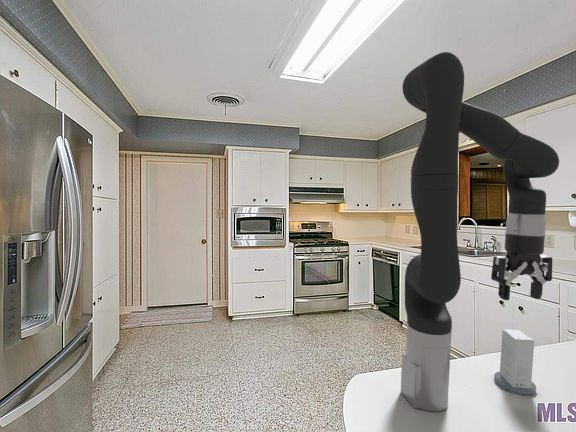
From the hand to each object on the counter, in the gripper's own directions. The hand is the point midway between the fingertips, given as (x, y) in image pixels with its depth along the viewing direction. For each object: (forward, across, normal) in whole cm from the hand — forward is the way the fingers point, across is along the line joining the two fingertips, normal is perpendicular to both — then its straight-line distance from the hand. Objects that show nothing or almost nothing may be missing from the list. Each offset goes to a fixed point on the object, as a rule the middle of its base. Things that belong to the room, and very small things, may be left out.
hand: (520, 298), depth 76 cm
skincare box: (+21, 0, 0) cm, 21 cm away
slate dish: (+22, 0, 0) cm, 22 cm away
